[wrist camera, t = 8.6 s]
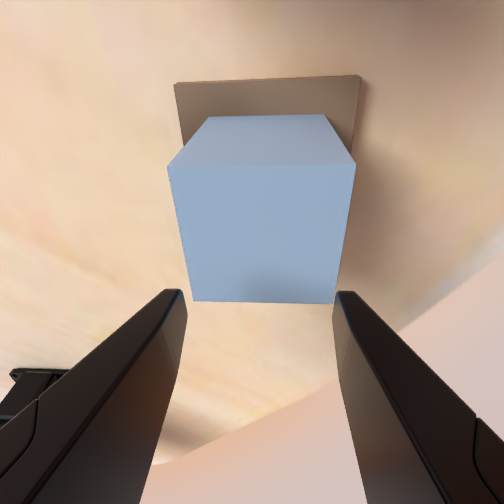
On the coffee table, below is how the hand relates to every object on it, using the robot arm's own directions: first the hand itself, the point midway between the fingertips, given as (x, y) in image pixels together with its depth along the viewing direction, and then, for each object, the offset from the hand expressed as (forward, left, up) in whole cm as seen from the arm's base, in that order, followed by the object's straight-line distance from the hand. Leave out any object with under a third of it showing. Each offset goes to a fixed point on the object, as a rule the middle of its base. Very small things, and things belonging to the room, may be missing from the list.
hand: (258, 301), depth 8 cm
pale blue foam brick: (0, 0, -9) cm, 9 cm away
